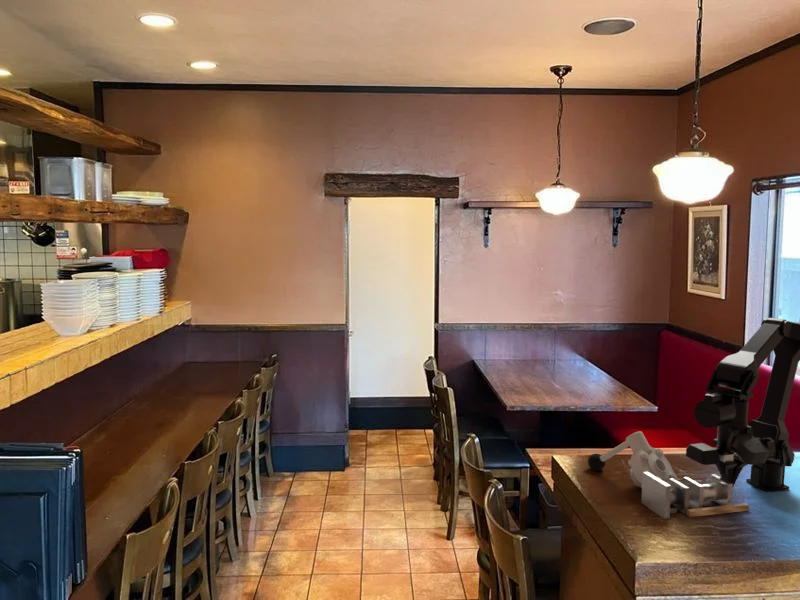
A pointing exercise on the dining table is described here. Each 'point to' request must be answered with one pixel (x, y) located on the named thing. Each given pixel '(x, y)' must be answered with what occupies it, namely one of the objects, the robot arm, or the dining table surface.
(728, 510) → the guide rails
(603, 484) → the dining table surface
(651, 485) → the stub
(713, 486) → the grey slotted block
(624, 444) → the mechanical valve
